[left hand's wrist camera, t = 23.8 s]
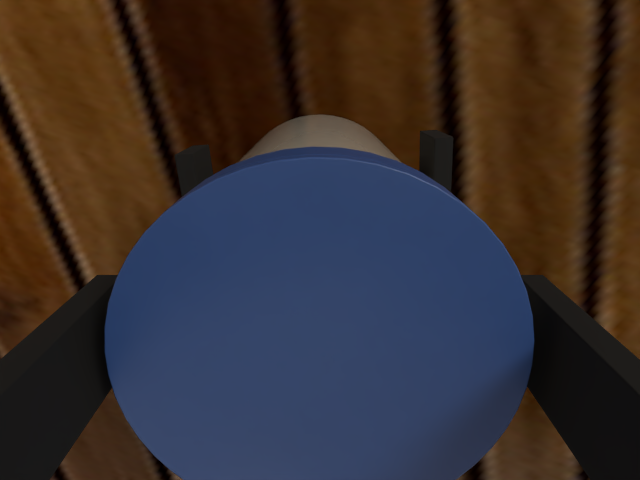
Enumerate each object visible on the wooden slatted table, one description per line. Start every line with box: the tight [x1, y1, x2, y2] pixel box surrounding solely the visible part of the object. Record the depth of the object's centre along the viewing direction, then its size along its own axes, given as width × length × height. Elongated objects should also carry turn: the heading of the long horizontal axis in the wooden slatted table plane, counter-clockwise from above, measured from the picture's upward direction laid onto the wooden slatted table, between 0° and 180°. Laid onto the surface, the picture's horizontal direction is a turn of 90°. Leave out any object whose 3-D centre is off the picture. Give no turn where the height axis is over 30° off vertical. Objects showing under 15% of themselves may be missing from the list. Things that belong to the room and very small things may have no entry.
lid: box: [105, 146, 534, 480], centre depth 11 cm, size 11×11×2 cm
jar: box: [237, 115, 402, 163], centre depth 19 cm, size 10×10×16 cm
